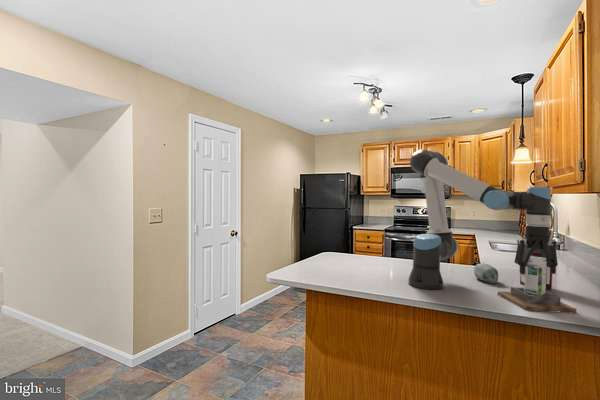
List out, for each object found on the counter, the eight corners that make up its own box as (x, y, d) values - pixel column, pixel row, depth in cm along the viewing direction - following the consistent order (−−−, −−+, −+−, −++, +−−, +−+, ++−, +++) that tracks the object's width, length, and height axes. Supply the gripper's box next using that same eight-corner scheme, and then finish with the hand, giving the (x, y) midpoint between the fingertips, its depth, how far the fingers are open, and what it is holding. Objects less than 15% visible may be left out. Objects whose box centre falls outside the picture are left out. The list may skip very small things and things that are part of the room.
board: (525, 310, 115) (526, 298, 115) (497, 294, 133) (498, 284, 133) (576, 312, 114) (576, 300, 114) (541, 296, 132) (541, 286, 132)
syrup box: (523, 292, 124) (524, 256, 124) (529, 289, 127) (530, 254, 127) (540, 296, 119) (541, 258, 119) (546, 293, 123) (547, 257, 123)
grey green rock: (506, 278, 147) (494, 259, 150) (487, 286, 148) (475, 267, 151) (495, 278, 160) (484, 260, 163) (477, 285, 161) (467, 267, 164)
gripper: (516, 225, 120) (514, 284, 120) (572, 227, 119) (569, 286, 119) (505, 223, 127) (502, 279, 128) (556, 225, 126) (554, 281, 127)
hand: (534, 282), depth 123 cm, fingers closed on syrup box, 8 cm apart
